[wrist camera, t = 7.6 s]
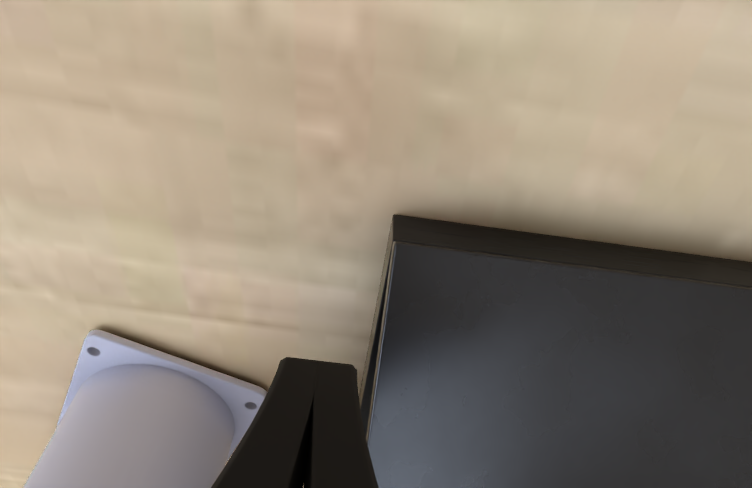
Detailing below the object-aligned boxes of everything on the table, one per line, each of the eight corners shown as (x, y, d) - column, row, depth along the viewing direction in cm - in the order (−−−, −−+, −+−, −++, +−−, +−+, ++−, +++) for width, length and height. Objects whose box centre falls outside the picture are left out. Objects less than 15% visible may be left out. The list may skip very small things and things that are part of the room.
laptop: (837, 574, 34) (855, 605, 33) (335, 522, 33) (333, 552, 31) (1170, 317, 22) (1222, 350, 21) (393, 213, 20) (392, 241, 19)
